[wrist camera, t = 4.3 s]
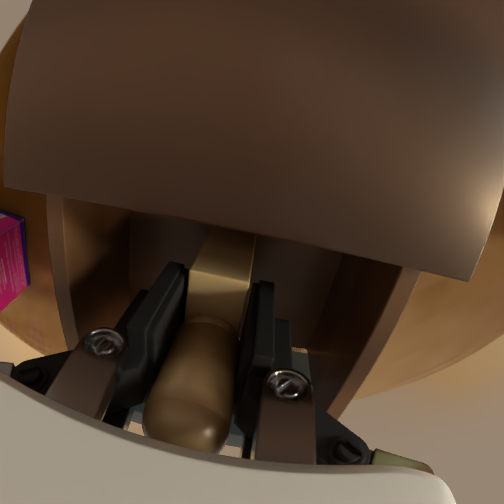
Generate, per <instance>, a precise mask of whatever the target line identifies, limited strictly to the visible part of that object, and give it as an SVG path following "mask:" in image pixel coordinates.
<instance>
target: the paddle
mask: <svg viewBox="0 0 504 504" xmlns="http://www.w3.org/2000/svg"><path fill="white" fill-rule="evenodd" d="M255 241H256V234H252V233H248V232H243V231H238V230H233V229H228V228H223V227H218V226H214V227H213V228H212V230H211V232H210V234H209V236H208V237H207V239H206V241H205V243H204V245H203V246H202V248H201V250H200V252H199V254H198V256H197V257H196V259H195V261H194V263H193V265H192V267H191V269H190V270H189V278H188V288H187V298H186V309H185V320H184V323H183V324H181V325H180V327H179V328H178V329H177V331H176V332H175V334H174V336H173V339H172V341H171V343H170V346H169V348H168V351H167V353H166V355H165V358H164V360H163V363H162V365H161V367H160V370H159V372H158V375H157V377H156V380H155V382H154V384H153V387H152V389H151V392H150V394H149V397H148V399H147V402H146V404H145V407H144V410H143V414H142V429H143V432H144V435H145V437H148V438H151V439H155V440H158V441H162V442H165V443H169V444H173V445H177V446H181V447H185V448H190V449H194V450H199V451H203V452H208V453H214V454H219V453H220V451H222V449H223V447H224V446H225V444H226V442H227V441H228V438H229V434H230V428H231V421H232V413H233V406H234V399H233V397H234V390H235V383H236V376H237V369H238V362H239V355H240V341H239V338H238V333H239V329H240V324H241V320H242V315H243V311H244V307H245V302H246V298H247V293H248V289H249V284H250V278H251V271H252V263H253V256H254V249H255Z"/></svg>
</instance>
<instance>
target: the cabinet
mask: <svg viewBox="0 0 504 504" xmlns="http://www.w3.org/2000/svg"><path fill="white" fill-rule="evenodd" d="M4 187H5V188H10V189H16V190H23V191H29V192H35V193H41V194H46V195H52V196H58V197H64V198H70V199H75V200H81V201H87V202H92V203H98V204H103V205H109V206H114V207H120V208H125V209H131V210H136V211H141V212H147V213H152V214H157V215H162V216H167V217H173V218H178V219H183V220H188V221H193V222H198V223H203V224H208V225H213V226H218V227H223V228H228V229H233V230H238V231H243V232H248V233H253V234H257V235H262V236H267V237H272V238H276V239H281V240H286V241H291V242H295V243H300V244H305V245H309V246H314V247H318V248H323V249H328V250H332V251H337V252H341V253H346V254H350V255H355V256H359V257H364V258H368V259H372V260H377V261H381V262H386V263H390V264H394V265H399V266H403V267H407V268H411V269H416V270H420V271H424V272H428V273H433V274H437V275H441V276H445V277H449V278H453V279H457V280H461V281H466V282H469V281H470V279H471V277H472V274H473V272H474V270H475V268H476V265H477V263H478V261H479V258H480V256H481V253H482V251H483V248H484V246H485V243H486V241H487V238H488V235H489V233H490V230H491V227H492V224H493V221H494V218H495V215H496V212H497V209H498V206H499V203H500V199H501V196H502V192H503V189H504V0H33V1H32V3H31V6H30V9H29V11H28V14H27V18H26V21H25V24H24V27H23V31H22V34H21V38H20V41H19V45H18V49H17V54H16V58H15V62H14V67H13V72H12V78H11V83H10V90H9V96H8V104H7V113H6V123H5V137H4Z"/></svg>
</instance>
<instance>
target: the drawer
mask: <svg viewBox="0 0 504 504" xmlns="http://www.w3.org/2000/svg"><path fill="white" fill-rule="evenodd" d="M46 210H47V228H48V241H49V251H50V260H51V268H52V275H53V282H54V288H55V294H56V300H57V305H58V310H59V315H60V320H61V324H62V329H63V333H64V337H65V341H66V345H67V349H68V351H70V350H74V348H75V347H76V345H77V344H78V342H79V341H80V339H81V338H82V336H83V335H84V334H85V333H86V332H88V331H89V330H91V329H94V328H98V327H109V328H114V327H115V325H116V324H117V322H118V321H119V319H120V318H121V317H122V315H123V314H124V312H125V311H126V309H127V308H128V307H129V305H130V304H131V302H132V301H133V299H134V298H135V297H136V295H137V294H138V292H139V291H140V290H141V289H144V290H148V291H149V290H150V289H151V287H152V286H153V284H154V283H155V281H156V280H157V278H158V277H159V275H160V274H161V272H162V271H163V270H164V268H165V267H166V265H167V264H168V262H169V261H173V262H178V263H182V264H184V265H185V268H187V269H189V270H190V269H191V267H192V265H193V263H194V261H195V259H196V257H197V256H198V254H199V252H200V250H201V248H202V246H203V245H204V243H205V241H206V239H207V237H208V236H209V234H210V232H211V230H212V228H213V227H214V226H213V225H208V224H203V223H198V222H193V221H188V220H183V219H178V218H173V217H167V216H162V215H157V214H152V213H147V212H141V211H136V210H131V209H125V208H120V207H114V206H109V205H103V204H98V203H92V202H87V201H81V200H75V199H70V198H64V197H58V196H52V195H46ZM252 234H253V233H252ZM421 272H422V271H420V270H416V269H411V268H407V267H403V266H399V265H394V264H390V263H386V262H381V261H377V260H372V259H368V258H364V257H359V256H355V255H350V254H346V253H341V252H337V251H332V250H328V249H323V248H318V247H314V246H309V245H305V244H300V243H295V242H291V241H286V240H281V239H276V238H272V237H267V236H262V235H257V234H256V241H255V249H254V256H253V263H252V271H251V278H250V284H249V289H248V293H247V298H246V302H245V307H244V311H243V315H242V320H241V324H240V329H239V333H238V337H241V333H242V329H243V324H244V320H245V316H246V311H247V307H248V303H249V299H250V294H251V290H252V286H253V282H254V283H259V281H260V280H263V281H268V282H273V283H274V284H275V318H278V319H283V320H289V322H290V333H291V347H297V348H304V349H307V352H308V354H307V353H300V352H293V351H292V364H293V369H294V370H297V371H299V372H301V373H302V374H304V375H305V376H306V377H307V378H308V379H309V380H310V382H311V383H312V386H313V392H314V402H315V403H316V404H317V405H318V406H320V407H321V408H322V409H323V410H325V411H326V412H327V413H328V414H330V415H331V416H332V417H334V418H335V419H336V420H338V419H339V417H340V416H341V414H342V413H343V412H344V410H345V409H346V407H347V406H348V404H349V403H350V402H351V400H352V399H353V397H354V396H355V394H356V393H357V391H358V390H359V388H360V386H361V385H362V383H363V382H364V380H365V379H366V377H367V375H368V374H369V372H370V371H371V369H372V367H373V366H374V364H375V362H376V361H377V359H378V357H379V356H380V354H381V352H382V350H383V349H384V347H385V345H386V343H387V341H388V340H389V338H390V336H391V334H392V332H393V330H394V329H395V327H396V325H397V323H398V321H399V319H400V317H401V315H402V313H403V311H404V309H405V307H406V305H407V303H408V301H409V299H410V297H411V294H412V292H413V290H414V288H415V286H416V284H417V281H418V279H419V277H420V275H421ZM187 288H188V287H187ZM186 298H187V297H186ZM185 309H186V308H185ZM184 320H185V319H184ZM145 404H146V403H142V404H139V405H136V406H135V409H134V413H133V416H132V419H131V421H133V422H136V423H139V424H142V414H143V410H144V407H145ZM234 416H235V415H232V421H231V428H230V434H229V438H228V441H227V442H226V444H225V445H228V446H235V447H241V444H242V438H243V434H244V433H243V432H242V431H241V430H240V429H239V428H238V427H237V426H236V424H233V423H234Z"/></svg>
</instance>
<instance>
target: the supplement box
mask: <svg viewBox="0 0 504 504" xmlns="http://www.w3.org/2000/svg"><path fill="white" fill-rule="evenodd" d="M29 285H30V279H29V272H28V264H27V255H26V245H25V230H24V219H23V218H21V217H18V216H15V215H13V214H9V213H7V212H3V211H0V312H1V311H2V310H3V309H4V308H5V307H6V306H7V305H8V304H9V303H10V302H11V301H12V300H13V299H14V298H16V297H17V296H18V295H19V294H20V293H21V292H22V291H23V290H24V289H25V288H26V287H28V286H29Z"/></svg>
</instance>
